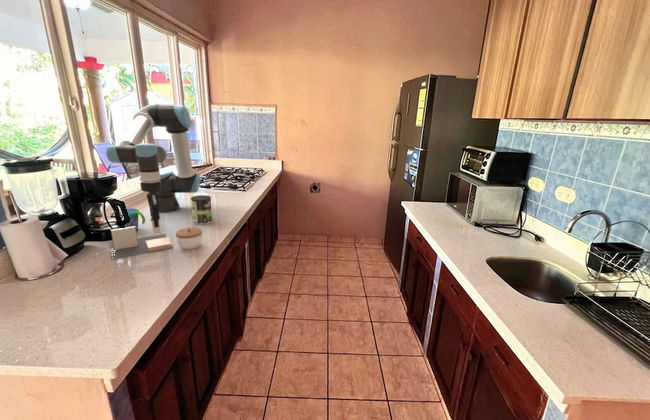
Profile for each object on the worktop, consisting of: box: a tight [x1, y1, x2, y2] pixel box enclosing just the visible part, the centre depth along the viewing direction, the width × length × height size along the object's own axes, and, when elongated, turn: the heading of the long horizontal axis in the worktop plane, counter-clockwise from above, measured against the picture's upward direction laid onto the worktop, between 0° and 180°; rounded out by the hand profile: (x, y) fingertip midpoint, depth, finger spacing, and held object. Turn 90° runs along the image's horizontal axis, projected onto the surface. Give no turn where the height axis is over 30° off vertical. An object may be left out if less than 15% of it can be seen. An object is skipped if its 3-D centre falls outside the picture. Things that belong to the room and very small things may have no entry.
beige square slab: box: [146, 236, 172, 252], centre depth 137 cm, size 2×9×9 cm
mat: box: [108, 233, 174, 261], centre depth 137 cm, size 20×23×1 cm
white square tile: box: [110, 226, 138, 250], centre depth 133 cm, size 2×9×9 cm, turn 126°
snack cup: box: [110, 207, 146, 231], centre depth 154 cm, size 16×10×10 cm
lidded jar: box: [175, 227, 203, 250], centre depth 137 cm, size 11×11×9 cm
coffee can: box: [190, 194, 213, 225], centre depth 170 cm, size 10×10×14 cm
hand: (157, 233), depth 135 cm, fingers closed
